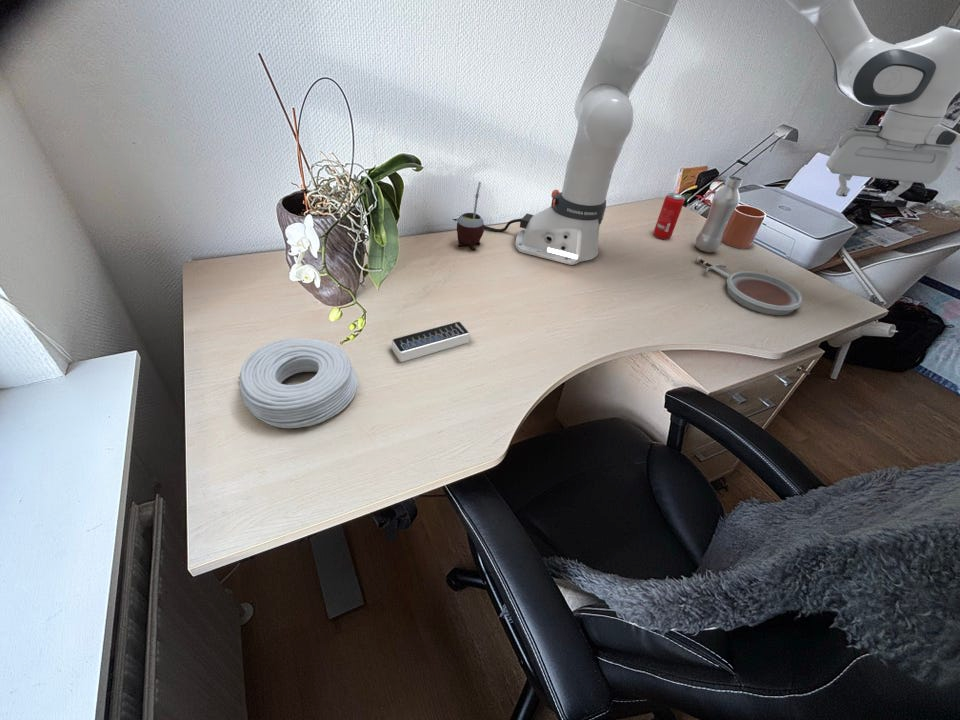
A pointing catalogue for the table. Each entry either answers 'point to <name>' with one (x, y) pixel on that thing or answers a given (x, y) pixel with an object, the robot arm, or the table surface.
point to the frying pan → (759, 291)
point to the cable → (300, 400)
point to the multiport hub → (430, 341)
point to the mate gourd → (470, 227)
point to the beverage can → (668, 215)
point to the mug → (743, 226)
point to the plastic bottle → (719, 215)
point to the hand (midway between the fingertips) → (864, 198)
